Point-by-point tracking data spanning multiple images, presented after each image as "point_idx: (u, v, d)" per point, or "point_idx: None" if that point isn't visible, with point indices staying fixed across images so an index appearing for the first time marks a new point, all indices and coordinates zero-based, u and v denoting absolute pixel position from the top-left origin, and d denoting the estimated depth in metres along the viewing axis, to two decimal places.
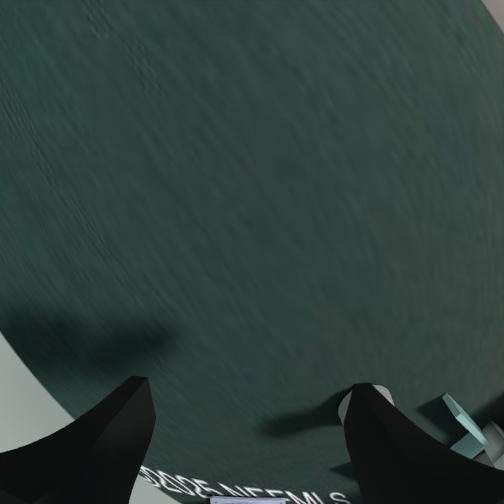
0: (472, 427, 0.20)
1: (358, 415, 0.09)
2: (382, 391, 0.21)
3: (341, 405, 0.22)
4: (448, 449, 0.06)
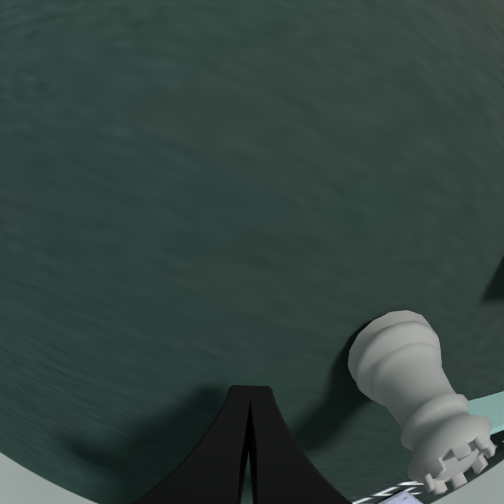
0: None
1: (250, 418, 0.09)
2: (396, 319, 0.13)
3: (353, 374, 0.14)
4: (314, 472, 0.06)
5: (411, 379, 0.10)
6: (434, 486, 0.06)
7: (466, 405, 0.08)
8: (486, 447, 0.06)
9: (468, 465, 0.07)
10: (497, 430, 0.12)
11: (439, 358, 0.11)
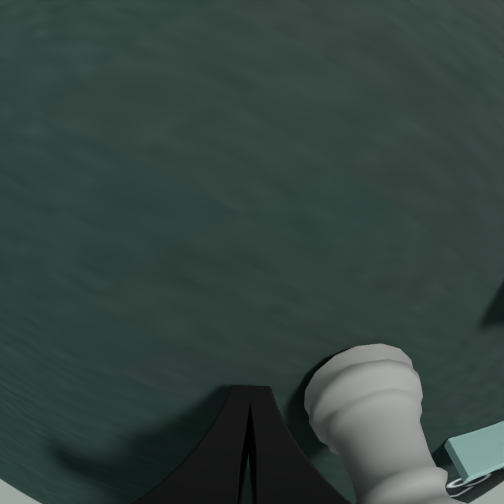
0: None
1: (249, 418, 0.09)
2: (365, 355, 0.10)
3: None
4: (313, 472, 0.06)
5: (373, 441, 0.07)
6: None
7: (444, 478, 0.06)
8: None
9: None
10: (489, 470, 0.10)
11: (418, 407, 0.08)
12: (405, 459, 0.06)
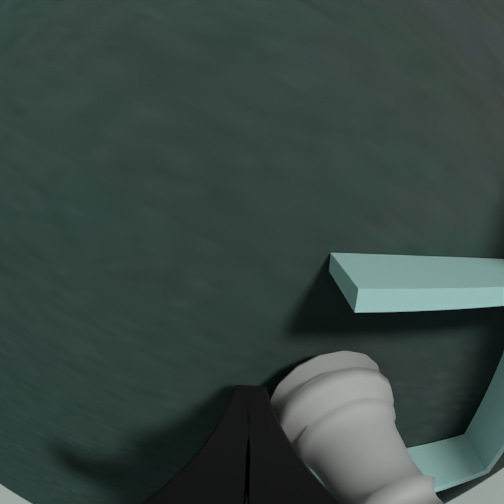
0: (479, 292, 0.07)
1: None
2: (330, 364, 0.10)
3: None
4: (306, 473, 0.06)
5: (353, 456, 0.07)
6: None
7: (433, 485, 0.05)
8: None
9: None
10: None
11: (392, 413, 0.08)
12: (390, 471, 0.06)
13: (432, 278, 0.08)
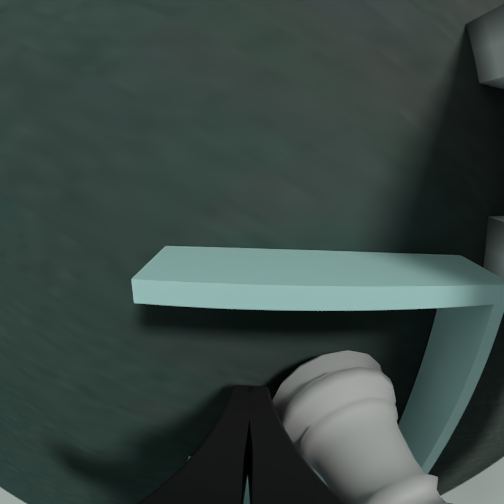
0: (297, 291, 0.07)
1: None
2: (333, 364, 0.10)
3: None
4: (309, 472, 0.06)
5: (356, 455, 0.07)
6: None
7: (436, 484, 0.05)
8: None
9: None
10: None
11: (395, 413, 0.08)
12: (393, 470, 0.06)
13: (239, 272, 0.08)
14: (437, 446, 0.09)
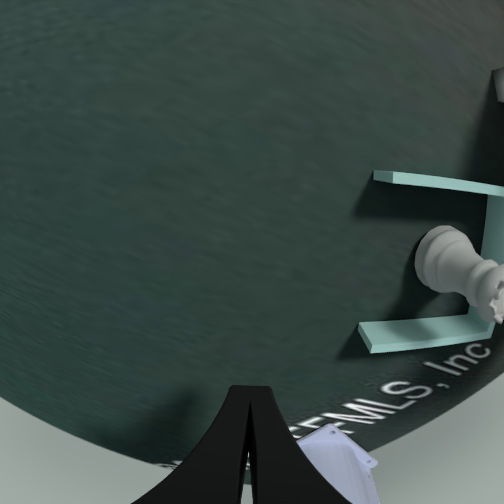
0: (449, 181, 0.15)
1: (250, 418, 0.09)
2: (444, 230, 0.18)
3: (418, 272, 0.19)
4: (314, 472, 0.06)
5: (463, 257, 0.15)
6: (496, 310, 0.12)
7: None
8: None
9: None
10: (397, 348, 0.18)
11: None
12: (480, 259, 0.14)
13: None
14: None
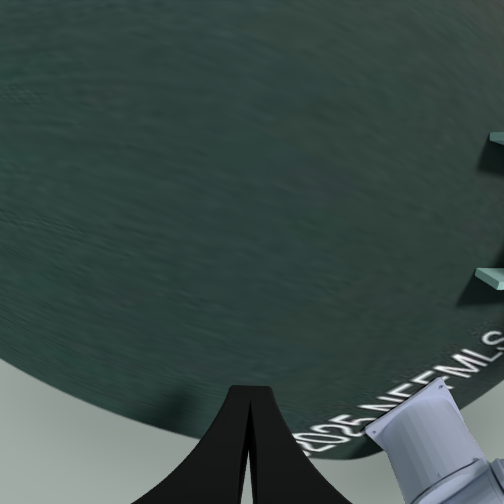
0: None
1: (249, 418, 0.09)
2: None
3: None
4: (314, 472, 0.06)
5: None
6: None
7: None
8: None
9: None
10: None
11: None
12: None
13: None
14: None
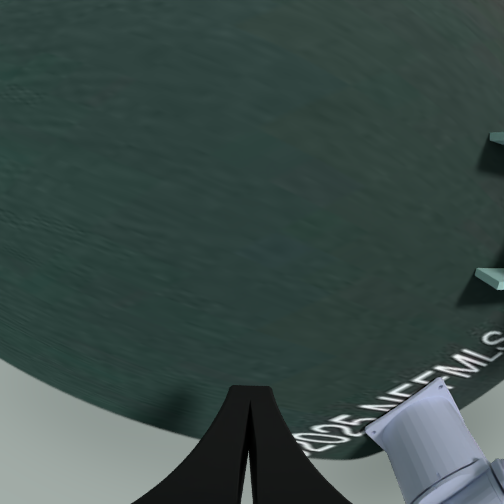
0: None
1: (249, 418, 0.09)
2: None
3: None
4: (314, 472, 0.06)
5: None
6: None
7: None
8: None
9: None
10: None
11: None
12: None
13: None
14: None
